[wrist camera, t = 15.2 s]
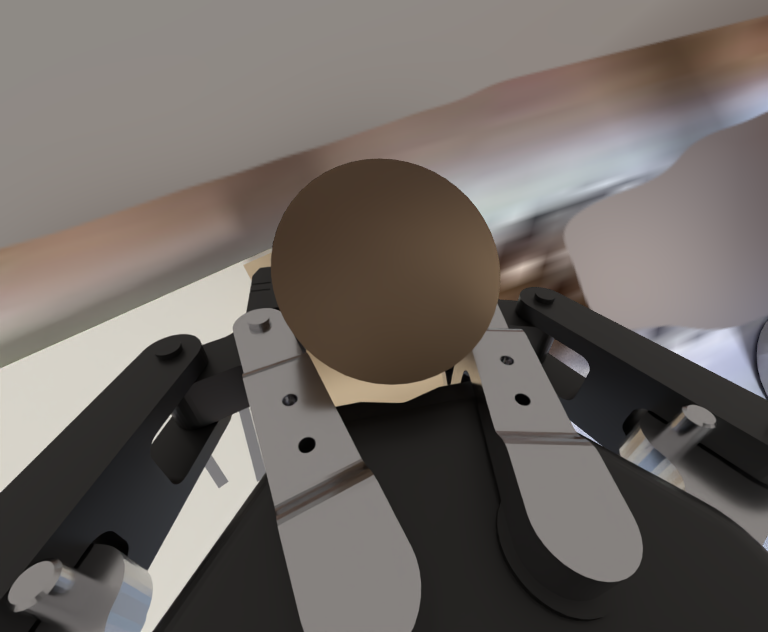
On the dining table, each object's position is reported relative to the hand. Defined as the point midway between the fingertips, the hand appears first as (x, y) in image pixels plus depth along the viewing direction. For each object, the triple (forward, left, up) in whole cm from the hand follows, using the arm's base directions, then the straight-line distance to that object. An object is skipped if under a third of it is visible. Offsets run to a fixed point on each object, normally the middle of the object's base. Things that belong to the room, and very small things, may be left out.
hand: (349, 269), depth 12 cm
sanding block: (-2, +1, -5) cm, 6 cm away
